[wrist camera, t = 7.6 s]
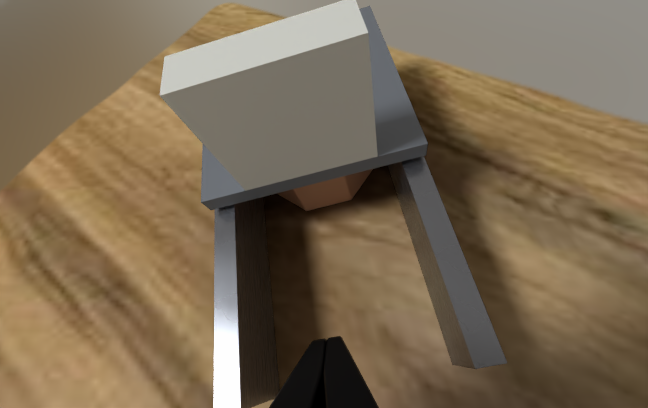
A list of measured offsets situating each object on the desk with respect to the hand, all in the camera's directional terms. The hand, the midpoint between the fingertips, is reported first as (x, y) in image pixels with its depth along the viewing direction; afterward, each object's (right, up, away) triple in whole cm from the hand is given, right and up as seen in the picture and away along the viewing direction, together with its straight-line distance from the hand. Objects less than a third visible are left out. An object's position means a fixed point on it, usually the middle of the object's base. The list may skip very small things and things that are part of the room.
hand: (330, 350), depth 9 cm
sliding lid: (-2, +10, +10) cm, 15 cm away
